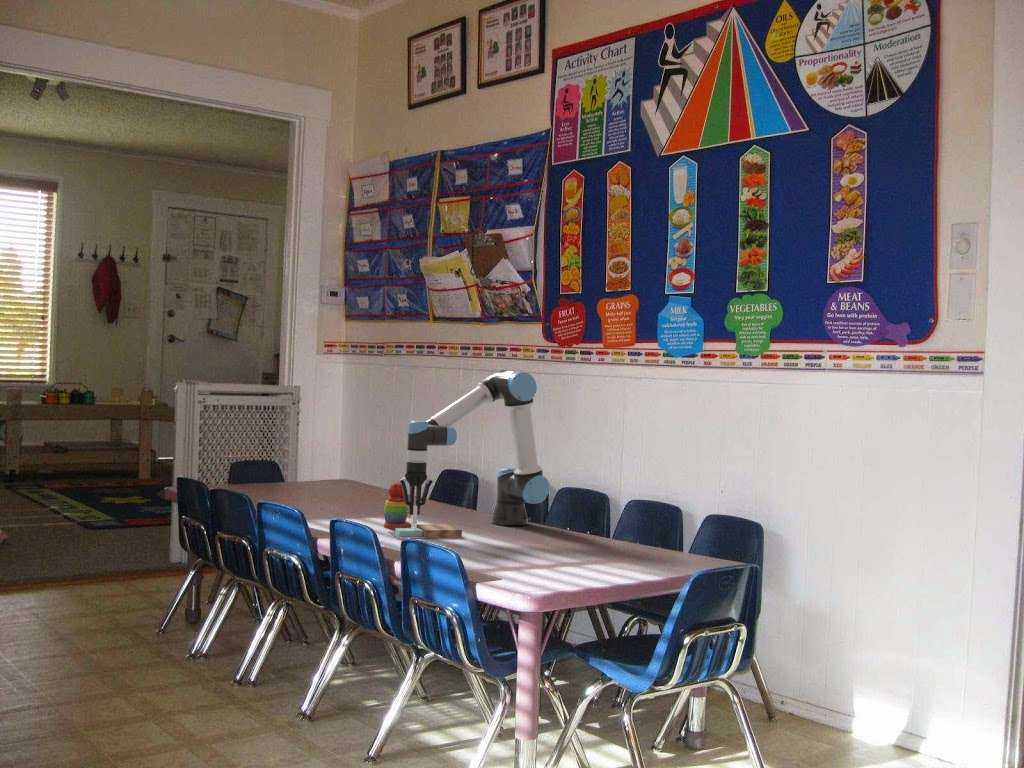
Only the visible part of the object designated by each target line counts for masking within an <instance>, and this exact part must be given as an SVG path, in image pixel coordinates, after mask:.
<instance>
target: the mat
mask: <svg viewBox="0 0 1024 768" xmlns="http://www.w3.org/2000/svg"><path fill="white" fill-rule="evenodd" d="M387 533H388V534H390V535H391V536H392V537H394V538H396V539H397V540H405V539H404V538H410V539H409V540H422V539H421V538H424V539H423V540H427V539H428V538H426V537H424V536H423V535H422V536H398V535H397V534H395V530H394V531H390V530H389V531H387ZM401 538H402V539H401Z"/></svg>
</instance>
